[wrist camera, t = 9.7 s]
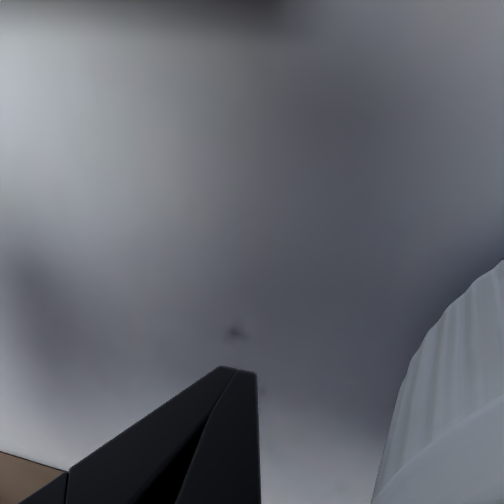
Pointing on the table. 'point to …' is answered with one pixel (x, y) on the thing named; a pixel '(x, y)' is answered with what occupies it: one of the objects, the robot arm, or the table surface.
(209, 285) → the table surface
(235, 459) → the robot arm
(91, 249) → the table surface
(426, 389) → the ramekin
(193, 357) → the table surface
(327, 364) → the table surface
